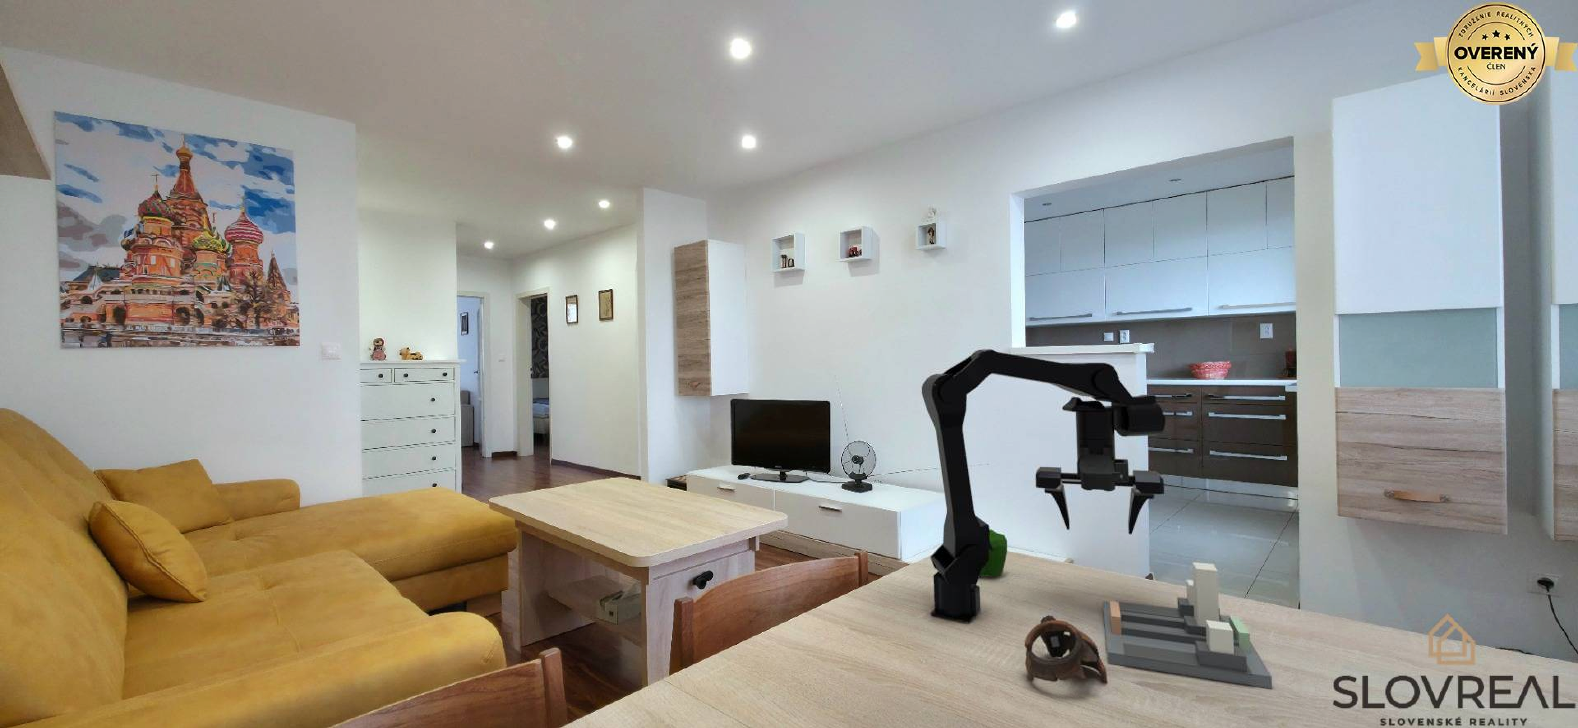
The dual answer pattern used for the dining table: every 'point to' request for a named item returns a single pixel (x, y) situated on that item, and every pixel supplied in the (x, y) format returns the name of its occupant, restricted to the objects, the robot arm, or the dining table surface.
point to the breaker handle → (1203, 599)
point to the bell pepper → (995, 555)
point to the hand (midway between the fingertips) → (1098, 531)
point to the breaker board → (1182, 643)
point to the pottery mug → (1061, 652)
